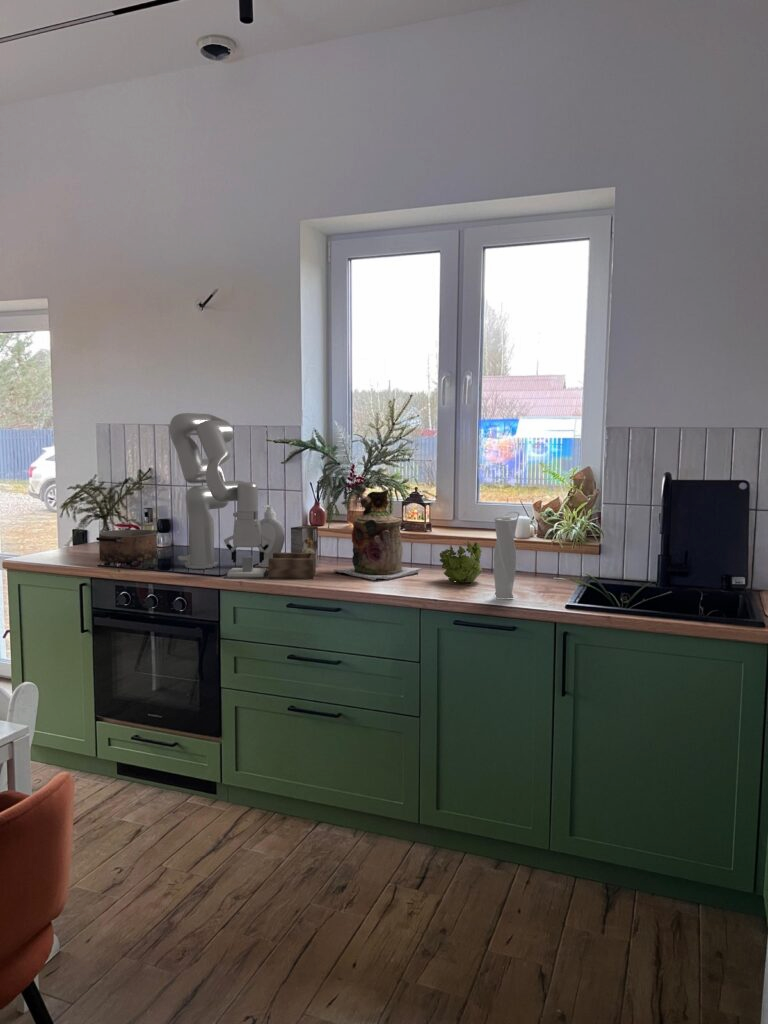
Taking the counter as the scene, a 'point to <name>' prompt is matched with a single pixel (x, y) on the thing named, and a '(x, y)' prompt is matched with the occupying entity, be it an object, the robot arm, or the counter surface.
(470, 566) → the green rounded bumpy piece
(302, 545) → the coffee box
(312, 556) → the box
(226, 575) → the mat
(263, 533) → the soap bottle
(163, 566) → the counter surface
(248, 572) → the lid
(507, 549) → the white faceted vase
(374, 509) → the rustic painted jar
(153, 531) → the cooking pot
